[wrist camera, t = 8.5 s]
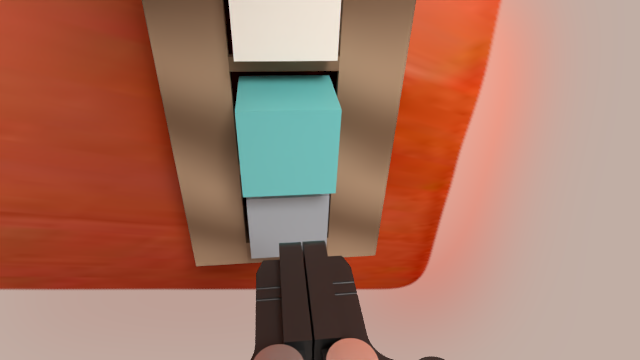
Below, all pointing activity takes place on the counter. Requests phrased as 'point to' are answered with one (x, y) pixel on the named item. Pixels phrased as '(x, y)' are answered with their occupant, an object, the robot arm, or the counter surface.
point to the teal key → (287, 134)
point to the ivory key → (285, 30)
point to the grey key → (285, 221)
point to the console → (220, 130)
